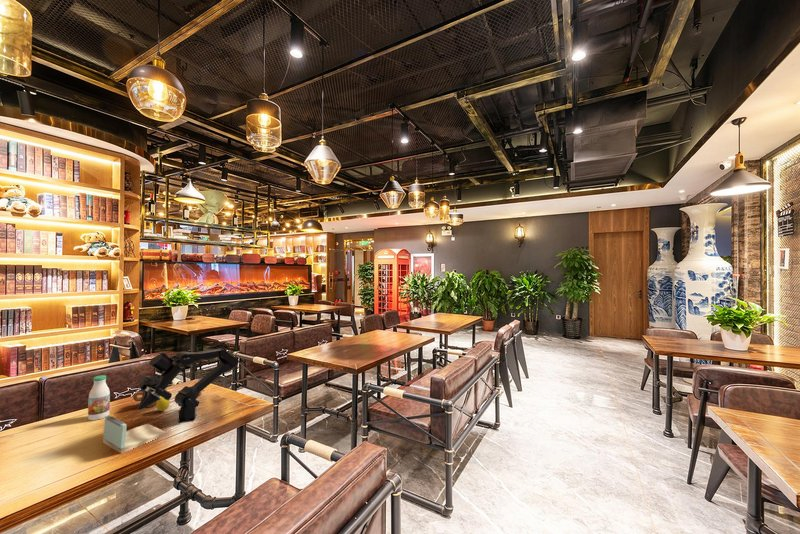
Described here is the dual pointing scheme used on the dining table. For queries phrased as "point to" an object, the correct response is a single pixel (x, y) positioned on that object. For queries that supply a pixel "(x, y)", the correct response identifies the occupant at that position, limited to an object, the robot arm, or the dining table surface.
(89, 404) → the milk bottle
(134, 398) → the mug
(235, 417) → the dining table surface
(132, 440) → the beige flat square pad
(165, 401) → the lemon
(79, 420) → the dining table surface
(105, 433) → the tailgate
